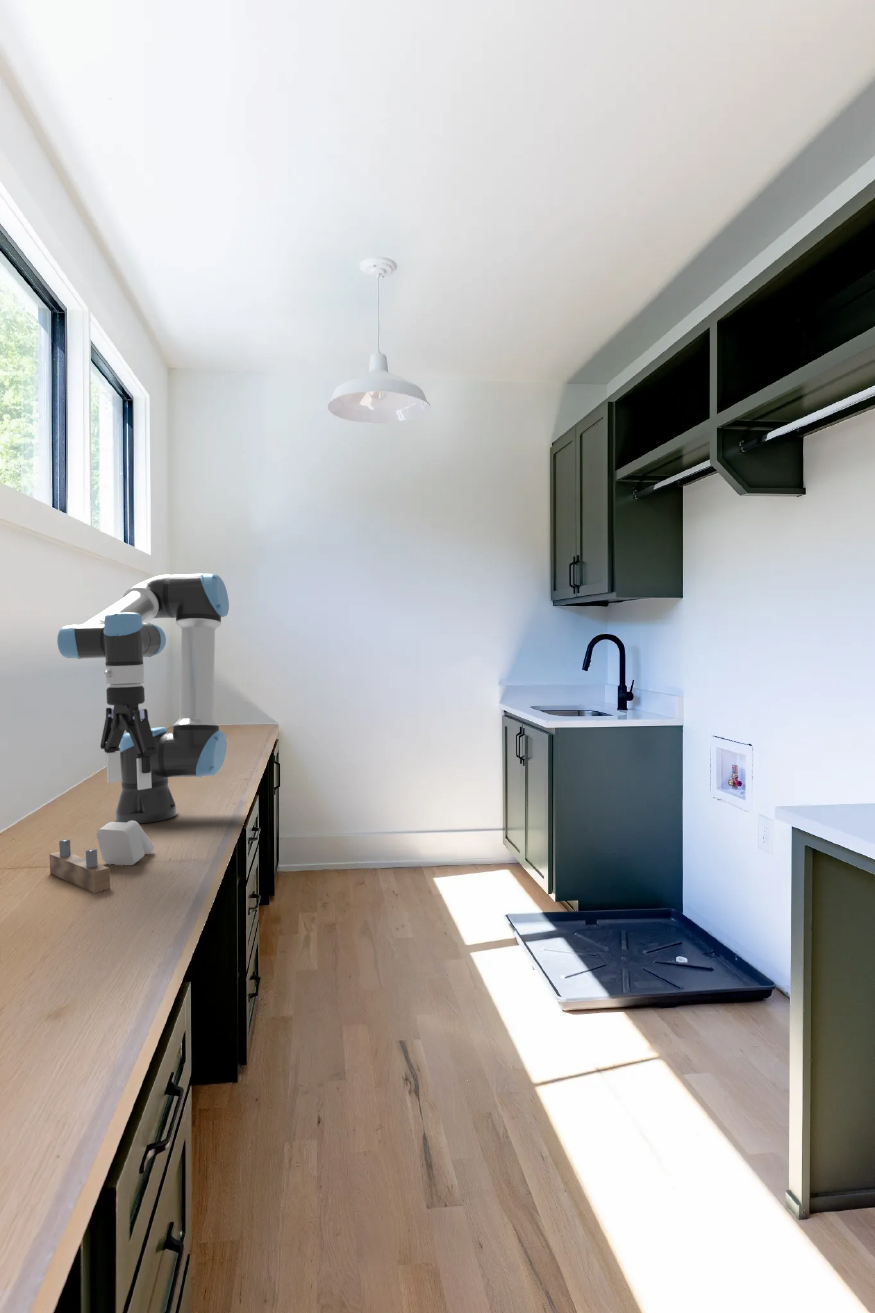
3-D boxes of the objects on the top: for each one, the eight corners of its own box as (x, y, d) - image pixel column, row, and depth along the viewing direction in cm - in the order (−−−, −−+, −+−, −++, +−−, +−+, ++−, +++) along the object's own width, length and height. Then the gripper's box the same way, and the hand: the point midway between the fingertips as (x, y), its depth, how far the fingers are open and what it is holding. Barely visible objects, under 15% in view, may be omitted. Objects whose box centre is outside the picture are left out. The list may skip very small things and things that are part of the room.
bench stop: (50, 873, 165) (48, 839, 165) (65, 869, 167) (63, 836, 167) (94, 892, 151) (92, 855, 151) (110, 888, 153) (108, 852, 153)
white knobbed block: (167, 850, 178) (158, 808, 176) (136, 874, 169) (126, 830, 166) (137, 848, 181) (127, 806, 178) (105, 872, 171) (95, 829, 169)
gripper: (81, 685, 178) (85, 782, 178) (137, 687, 161) (140, 794, 162) (115, 683, 184) (118, 777, 184) (171, 685, 167) (175, 788, 167)
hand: (128, 785), depth 173 cm, fingers open, 13 cm apart
